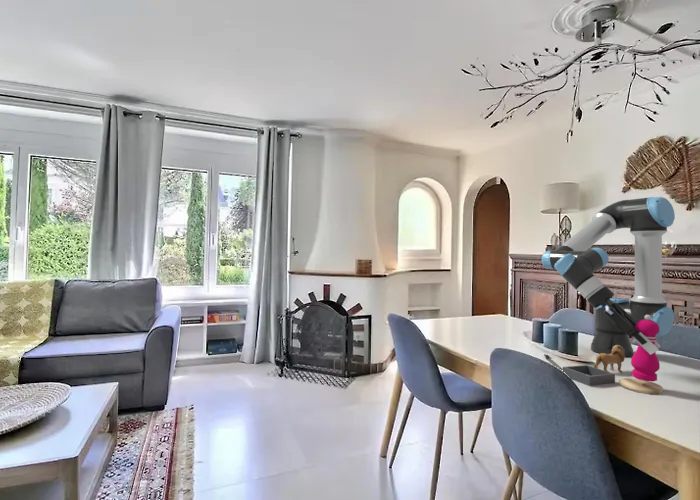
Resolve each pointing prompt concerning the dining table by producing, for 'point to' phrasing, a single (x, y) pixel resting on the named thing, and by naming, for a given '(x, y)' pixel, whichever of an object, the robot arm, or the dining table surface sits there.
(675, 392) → the dining table surface
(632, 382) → the cork coaster
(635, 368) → the pepper mill
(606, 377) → the dark gray square tray
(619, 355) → the lion figurine
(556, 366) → the paintbrush
